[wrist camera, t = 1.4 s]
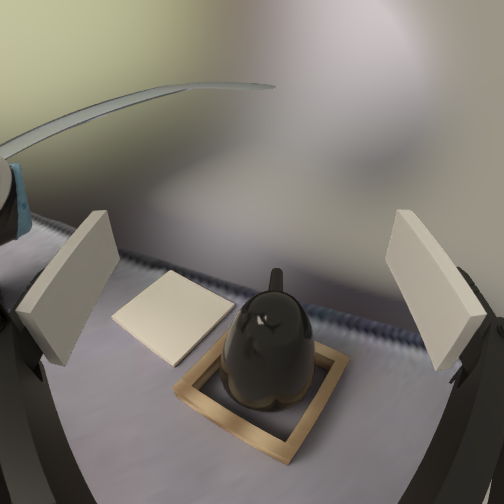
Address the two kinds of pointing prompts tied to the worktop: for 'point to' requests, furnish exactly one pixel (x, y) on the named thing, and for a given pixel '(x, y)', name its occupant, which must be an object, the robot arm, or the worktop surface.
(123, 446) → the worktop surface
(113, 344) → the worktop surface
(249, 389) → the black egg-shaped piece
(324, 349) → the wooden picture frame
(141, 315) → the tile
